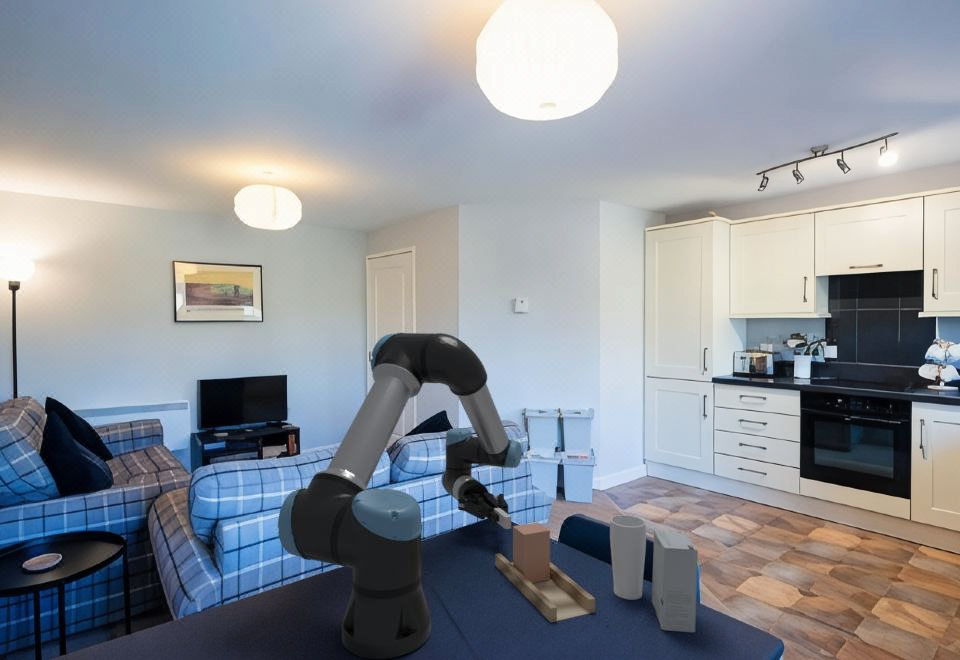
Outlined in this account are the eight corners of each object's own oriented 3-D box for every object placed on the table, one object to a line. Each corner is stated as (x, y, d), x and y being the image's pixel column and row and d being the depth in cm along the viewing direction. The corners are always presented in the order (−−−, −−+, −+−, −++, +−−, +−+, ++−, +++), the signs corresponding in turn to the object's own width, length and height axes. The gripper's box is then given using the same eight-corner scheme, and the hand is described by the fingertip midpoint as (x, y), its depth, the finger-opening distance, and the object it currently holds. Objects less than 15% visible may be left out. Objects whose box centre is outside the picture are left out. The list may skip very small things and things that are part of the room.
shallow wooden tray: (495, 569, 112) (495, 554, 112) (532, 562, 115) (532, 547, 115) (550, 628, 90) (550, 608, 90) (594, 617, 93) (595, 598, 93)
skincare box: (651, 607, 97) (651, 528, 97) (684, 608, 96) (683, 529, 96) (662, 632, 88) (662, 546, 89) (698, 634, 88) (698, 547, 88)
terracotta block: (512, 573, 107) (513, 526, 108) (538, 569, 110) (538, 522, 110) (523, 584, 103) (523, 534, 103) (549, 579, 105) (549, 530, 105)
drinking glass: (611, 604, 98) (611, 525, 98) (608, 587, 104) (608, 513, 104) (648, 608, 96) (648, 528, 96) (643, 590, 103) (643, 515, 103)
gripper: (492, 504, 141) (533, 535, 119) (447, 510, 136) (481, 543, 114) (492, 476, 141) (533, 502, 119) (447, 482, 136) (481, 510, 114)
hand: (508, 522), depth 117 cm, fingers closed
